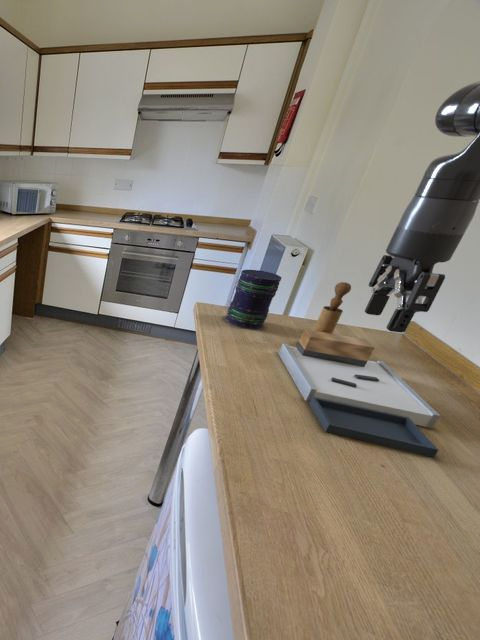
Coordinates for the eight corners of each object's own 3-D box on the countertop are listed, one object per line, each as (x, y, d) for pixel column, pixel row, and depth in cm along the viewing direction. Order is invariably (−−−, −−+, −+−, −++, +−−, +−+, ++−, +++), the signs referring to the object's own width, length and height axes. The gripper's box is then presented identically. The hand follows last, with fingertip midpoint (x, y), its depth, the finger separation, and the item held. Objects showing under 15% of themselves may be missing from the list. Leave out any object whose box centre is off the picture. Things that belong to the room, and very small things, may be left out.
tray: (404, 424, 78) (408, 417, 77) (433, 457, 70) (438, 449, 69) (309, 403, 83) (312, 396, 83) (325, 431, 75) (329, 424, 74)
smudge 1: (355, 385, 86) (356, 383, 86) (355, 387, 85) (356, 385, 85) (331, 379, 88) (332, 377, 88) (331, 381, 87) (332, 379, 87)
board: (377, 372, 97) (383, 361, 96) (432, 428, 77) (440, 415, 76) (278, 353, 104) (282, 343, 103) (305, 400, 84) (311, 388, 83)
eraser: (355, 358, 98) (365, 339, 96) (364, 367, 94) (374, 347, 92) (296, 347, 102) (304, 329, 100) (301, 355, 98) (310, 336, 96)
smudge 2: (374, 379, 89) (376, 377, 88) (378, 381, 88) (379, 379, 87) (353, 376, 89) (354, 374, 89) (357, 378, 88) (358, 376, 88)
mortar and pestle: (306, 351, 106) (337, 284, 98) (295, 341, 112) (322, 277, 104) (336, 355, 105) (369, 288, 97) (322, 344, 110) (352, 280, 103)
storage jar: (240, 315, 128) (256, 268, 122) (270, 327, 120) (290, 278, 114) (217, 318, 125) (233, 270, 118) (247, 331, 117) (266, 280, 110)
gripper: (493, 238, 57) (433, 342, 64) (435, 223, 69) (390, 312, 76) (424, 233, 60) (373, 333, 67) (379, 219, 72) (340, 305, 79)
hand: (382, 322), depth 72 cm, fingers open, 8 cm apart
